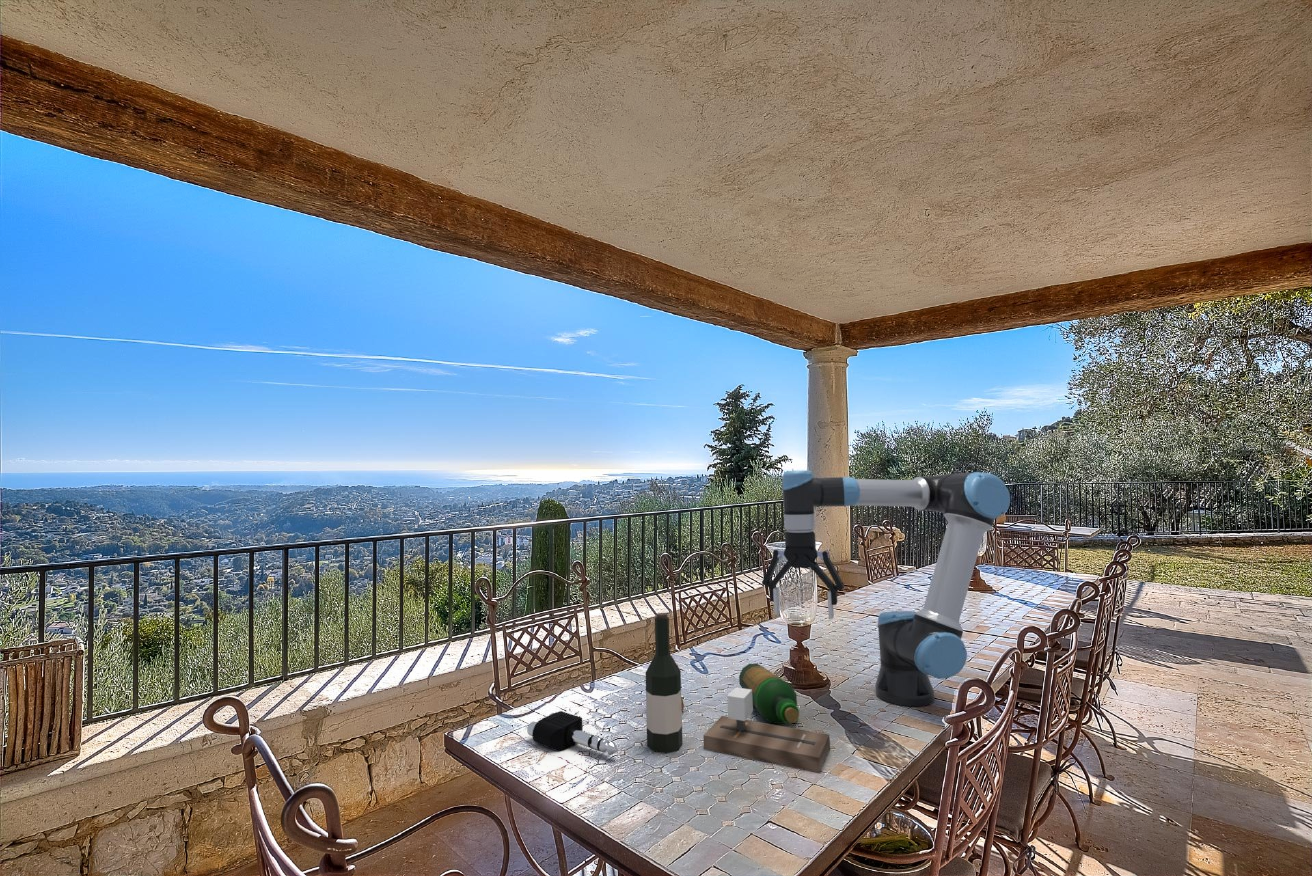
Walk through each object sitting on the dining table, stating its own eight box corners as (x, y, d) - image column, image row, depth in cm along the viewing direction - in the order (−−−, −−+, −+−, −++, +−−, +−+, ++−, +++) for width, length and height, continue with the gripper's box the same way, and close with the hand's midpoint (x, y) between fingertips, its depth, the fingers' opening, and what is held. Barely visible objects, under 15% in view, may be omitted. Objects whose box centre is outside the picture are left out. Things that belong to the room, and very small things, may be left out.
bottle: (773, 662, 163) (817, 696, 135) (766, 700, 161) (808, 742, 134) (739, 655, 161) (775, 688, 134) (731, 693, 160) (766, 734, 132)
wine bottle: (645, 738, 136) (643, 610, 138) (680, 736, 136) (676, 609, 139) (648, 754, 127) (645, 618, 130) (685, 752, 128) (681, 617, 131)
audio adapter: (558, 705, 144) (633, 728, 129) (558, 726, 144) (633, 753, 129) (524, 720, 136) (600, 747, 120) (524, 743, 135) (600, 773, 120)
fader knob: (753, 725, 134) (752, 689, 134) (745, 736, 128) (743, 698, 129) (737, 723, 135) (736, 687, 136) (728, 732, 130) (727, 695, 131)
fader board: (830, 748, 128) (829, 734, 129) (819, 772, 118) (818, 757, 118) (722, 728, 140) (722, 715, 140) (703, 748, 129) (703, 734, 130)
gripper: (852, 530, 142) (857, 616, 140) (756, 529, 153) (760, 608, 152) (848, 532, 135) (853, 623, 134) (748, 531, 147) (751, 614, 145)
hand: (803, 616), depth 143 cm, fingers open, 13 cm apart
